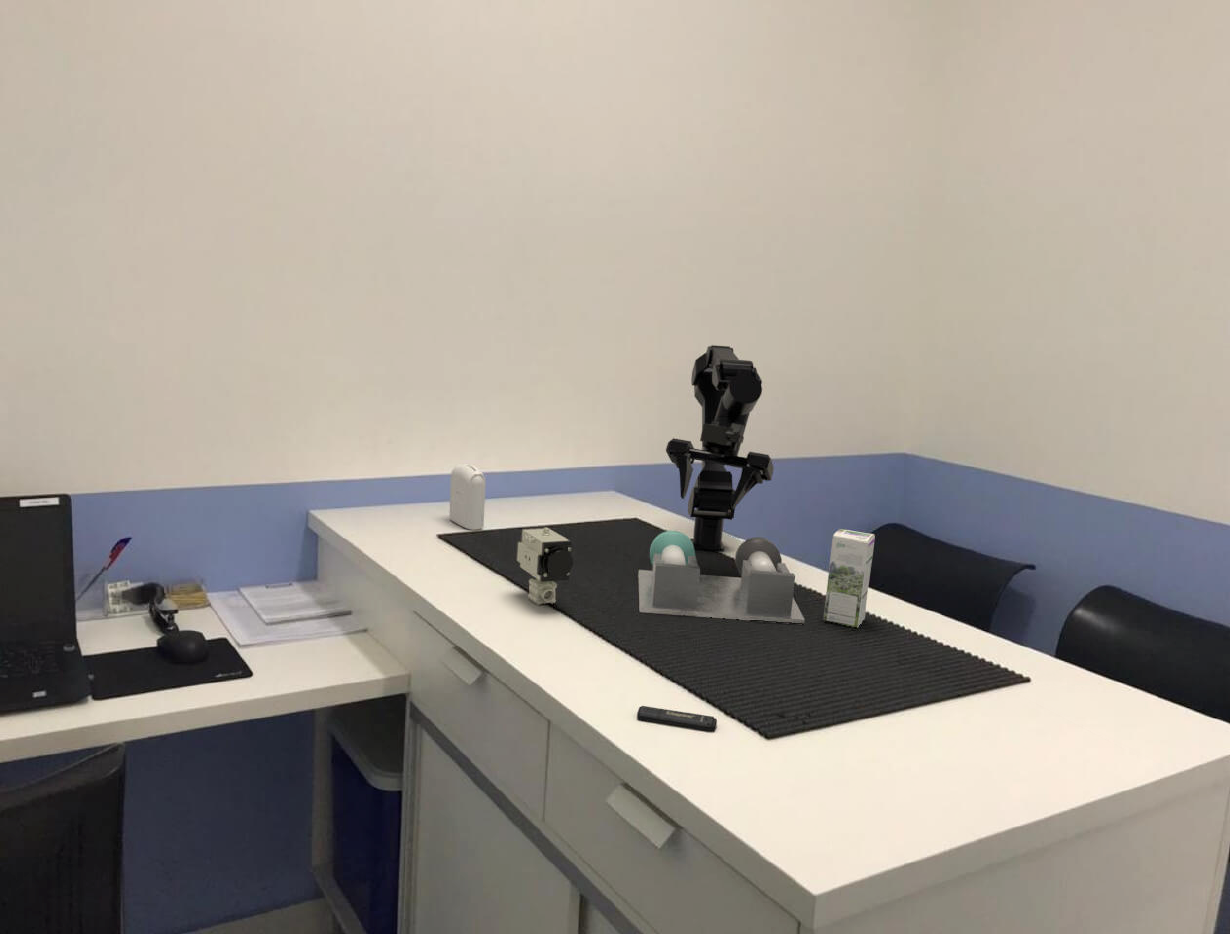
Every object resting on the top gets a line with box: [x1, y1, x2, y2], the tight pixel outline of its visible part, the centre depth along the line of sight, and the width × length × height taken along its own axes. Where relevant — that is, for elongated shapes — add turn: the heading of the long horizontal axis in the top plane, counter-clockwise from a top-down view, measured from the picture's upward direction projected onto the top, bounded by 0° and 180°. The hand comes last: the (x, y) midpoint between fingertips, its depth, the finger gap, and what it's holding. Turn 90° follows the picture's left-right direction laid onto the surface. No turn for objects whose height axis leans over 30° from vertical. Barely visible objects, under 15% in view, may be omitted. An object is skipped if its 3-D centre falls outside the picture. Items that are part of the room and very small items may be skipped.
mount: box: [637, 553, 806, 624], centre depth 173 cm, size 22×26×7 cm
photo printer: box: [449, 463, 487, 531], centre depth 209 cm, size 10×4×12 cm, turn 32°
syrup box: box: [823, 528, 876, 629], centre depth 165 cm, size 6×6×14 cm
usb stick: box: [636, 705, 718, 732], centre depth 123 cm, size 10×3×2 cm, turn 77°
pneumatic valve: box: [515, 527, 574, 606], centre depth 163 cm, size 6×12×12 cm, turn 29°
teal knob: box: [649, 530, 696, 567], centre depth 175 cm, size 11×8×8 cm
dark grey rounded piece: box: [734, 536, 783, 577], centre depth 175 cm, size 11×8×8 cm
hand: (707, 503), depth 181 cm, fingers open, 9 cm apart
